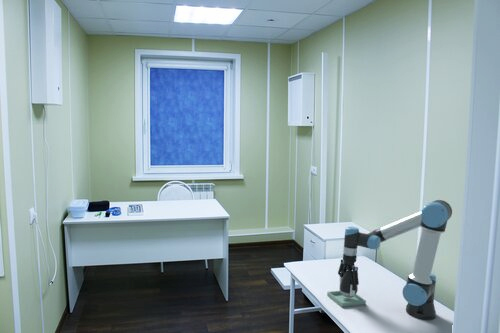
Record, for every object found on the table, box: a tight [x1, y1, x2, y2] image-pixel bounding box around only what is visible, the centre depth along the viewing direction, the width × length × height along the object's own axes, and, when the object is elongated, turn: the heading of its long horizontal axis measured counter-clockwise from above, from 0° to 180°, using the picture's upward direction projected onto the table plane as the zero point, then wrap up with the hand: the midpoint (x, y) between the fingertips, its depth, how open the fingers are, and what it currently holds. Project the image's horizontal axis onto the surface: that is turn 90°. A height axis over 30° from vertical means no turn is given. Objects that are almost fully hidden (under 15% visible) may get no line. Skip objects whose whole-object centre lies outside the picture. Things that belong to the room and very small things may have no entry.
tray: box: [326, 290, 367, 308], centre depth 232 cm, size 16×16×2 cm
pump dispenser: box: [338, 269, 359, 298], centre depth 232 cm, size 10×10×15 cm
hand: (346, 291), depth 232 cm, fingers closed on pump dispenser, 10 cm apart
